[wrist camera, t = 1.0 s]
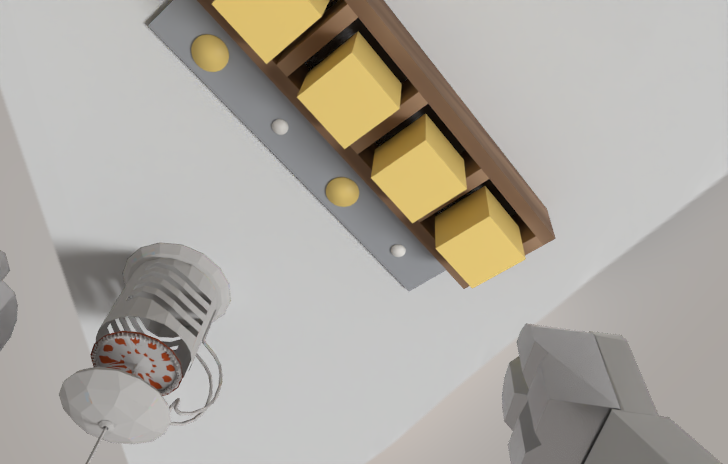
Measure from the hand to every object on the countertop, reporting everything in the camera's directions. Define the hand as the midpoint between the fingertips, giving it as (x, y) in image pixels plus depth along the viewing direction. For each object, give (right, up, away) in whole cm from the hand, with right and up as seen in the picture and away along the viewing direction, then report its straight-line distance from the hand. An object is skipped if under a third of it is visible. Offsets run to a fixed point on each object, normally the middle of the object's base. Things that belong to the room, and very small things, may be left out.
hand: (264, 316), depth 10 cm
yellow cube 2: (+1, +11, +31) cm, 33 cm away
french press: (-14, -4, +47) cm, 50 cm away
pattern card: (-2, +7, +38) cm, 39 cm away
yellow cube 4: (+10, +2, +37) cm, 38 cm away
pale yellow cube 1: (-3, +16, +29) cm, 33 cm away
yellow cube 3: (+5, +7, +34) cm, 35 cm away
